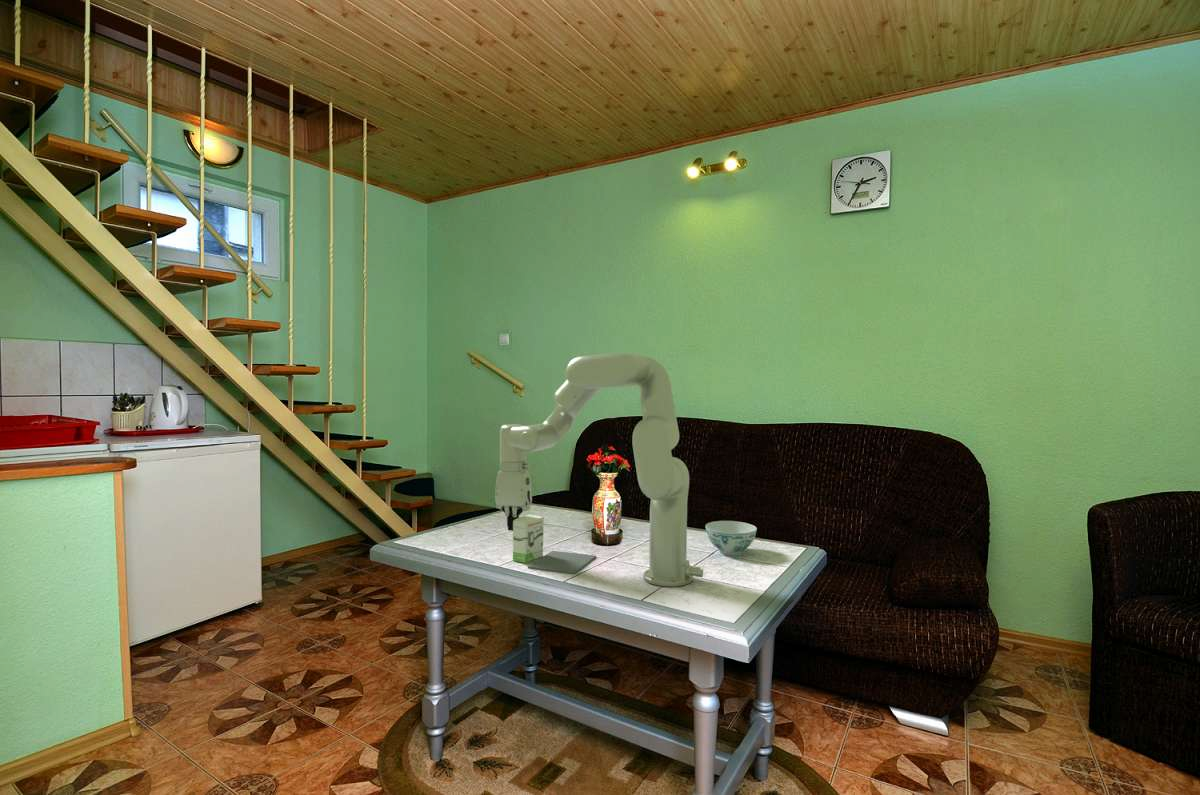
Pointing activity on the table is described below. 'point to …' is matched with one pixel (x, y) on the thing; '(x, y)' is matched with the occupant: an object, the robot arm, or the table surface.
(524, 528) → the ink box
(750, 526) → the chinaware
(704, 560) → the table surface
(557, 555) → the slate mat
